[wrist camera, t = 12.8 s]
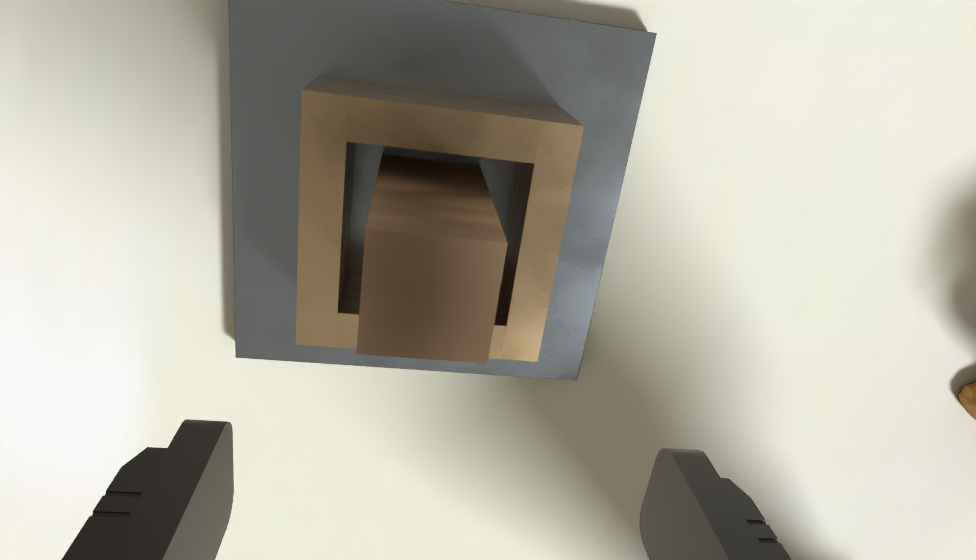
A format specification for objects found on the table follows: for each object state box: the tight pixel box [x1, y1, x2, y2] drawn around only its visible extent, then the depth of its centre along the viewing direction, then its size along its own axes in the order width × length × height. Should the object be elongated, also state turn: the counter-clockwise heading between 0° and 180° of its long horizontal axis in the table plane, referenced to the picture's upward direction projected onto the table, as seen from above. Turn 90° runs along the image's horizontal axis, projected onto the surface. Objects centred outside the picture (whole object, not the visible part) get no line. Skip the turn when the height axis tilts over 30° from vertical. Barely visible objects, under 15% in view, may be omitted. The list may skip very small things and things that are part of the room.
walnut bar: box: [356, 154, 508, 364], centre depth 23 cm, size 4×4×9 cm
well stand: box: [229, 0, 657, 380], centre depth 25 cm, size 16×16×5 cm
